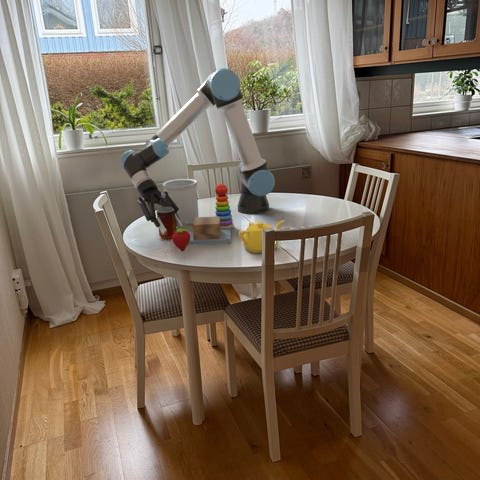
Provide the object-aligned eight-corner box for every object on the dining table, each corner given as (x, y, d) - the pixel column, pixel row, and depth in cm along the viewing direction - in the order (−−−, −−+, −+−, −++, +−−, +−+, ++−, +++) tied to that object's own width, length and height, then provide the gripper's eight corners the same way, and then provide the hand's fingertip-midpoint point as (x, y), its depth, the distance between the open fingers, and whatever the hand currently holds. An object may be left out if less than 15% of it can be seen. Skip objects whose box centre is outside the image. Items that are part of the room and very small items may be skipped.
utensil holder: (194, 225, 187) (190, 185, 181) (162, 225, 190) (157, 186, 184) (203, 216, 201) (200, 178, 195) (173, 215, 204) (169, 178, 198)
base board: (231, 232, 175) (230, 229, 175) (230, 243, 164) (230, 239, 163) (186, 234, 176) (186, 231, 175) (183, 245, 164) (182, 241, 164)
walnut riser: (221, 230, 174) (220, 216, 172) (219, 238, 164) (218, 223, 162) (196, 231, 174) (194, 217, 172) (193, 240, 165) (192, 225, 163)
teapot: (272, 257, 148) (272, 230, 145) (236, 253, 153) (235, 227, 150) (284, 244, 160) (284, 218, 157) (251, 241, 165) (250, 216, 162)
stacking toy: (236, 225, 184) (234, 182, 178) (229, 231, 177) (227, 186, 171) (219, 224, 187) (216, 181, 181) (212, 230, 180) (208, 186, 173)
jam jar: (163, 234, 177) (160, 205, 173) (179, 235, 175) (177, 206, 171) (156, 240, 170) (153, 210, 166) (174, 241, 169) (170, 211, 165)
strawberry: (169, 253, 157) (166, 227, 153) (183, 246, 163) (180, 221, 159) (181, 256, 154) (178, 229, 150) (195, 249, 159) (193, 223, 156)
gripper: (162, 185, 184) (189, 228, 178) (120, 194, 171) (148, 242, 165) (168, 174, 179) (196, 218, 173) (125, 183, 166) (154, 231, 160)
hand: (172, 230), depth 169 cm, fingers closed on jam jar, 7 cm apart
